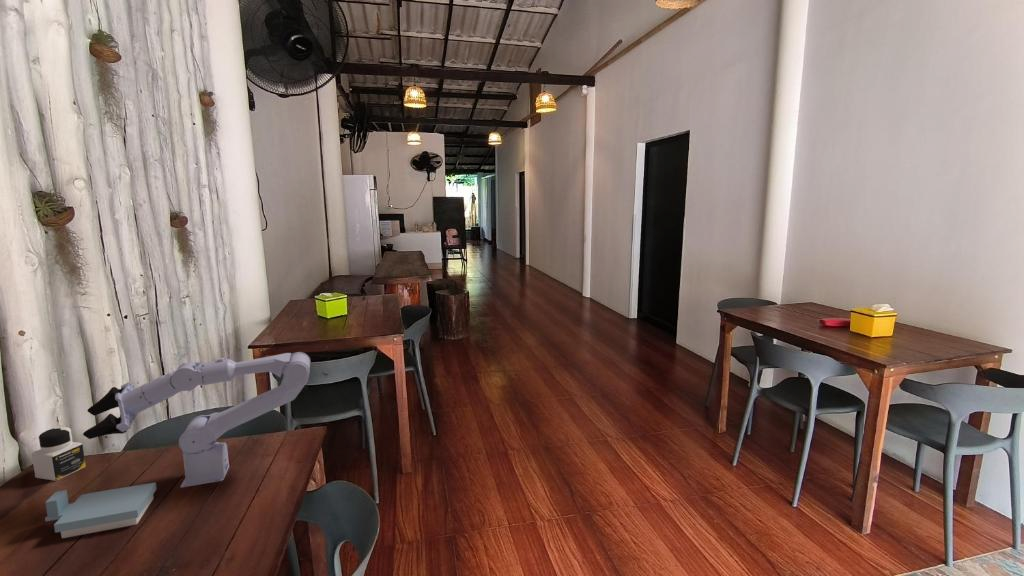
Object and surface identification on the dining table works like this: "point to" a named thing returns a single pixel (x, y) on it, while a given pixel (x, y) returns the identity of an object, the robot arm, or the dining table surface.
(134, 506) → the lid
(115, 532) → the dining table surface
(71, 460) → the medicine bottle
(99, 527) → the tub
